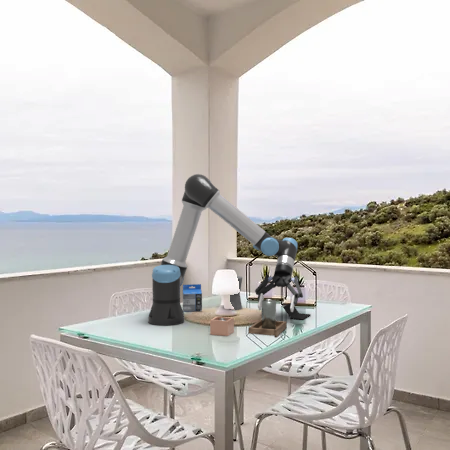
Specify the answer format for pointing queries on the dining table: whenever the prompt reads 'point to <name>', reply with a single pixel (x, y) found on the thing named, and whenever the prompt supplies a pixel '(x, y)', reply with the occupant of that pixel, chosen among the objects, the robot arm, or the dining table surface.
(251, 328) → the brown wooden tray
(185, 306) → the label tape box
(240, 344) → the dining table surface
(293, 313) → the handheld gaming console
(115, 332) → the dining table surface
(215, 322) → the terracotta square pot
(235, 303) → the coffeepot
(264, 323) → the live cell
